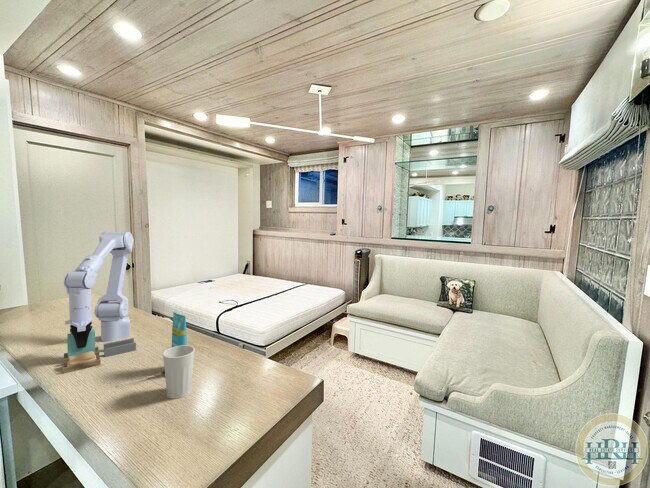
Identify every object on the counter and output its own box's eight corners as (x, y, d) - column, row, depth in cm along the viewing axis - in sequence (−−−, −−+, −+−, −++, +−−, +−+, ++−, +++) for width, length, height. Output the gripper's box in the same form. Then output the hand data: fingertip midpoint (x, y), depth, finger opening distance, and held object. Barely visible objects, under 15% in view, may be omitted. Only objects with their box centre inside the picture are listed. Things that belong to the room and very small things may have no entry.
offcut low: (95, 360, 94) (95, 354, 94) (96, 364, 92) (96, 358, 92) (67, 366, 90) (67, 361, 90) (67, 371, 87) (67, 365, 87)
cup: (187, 381, 85) (187, 342, 85) (199, 391, 80) (199, 350, 80) (158, 392, 79) (158, 351, 79) (170, 404, 74) (170, 360, 74)
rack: (98, 353, 101) (98, 345, 101) (100, 367, 92) (100, 358, 91) (64, 360, 95) (64, 352, 95) (63, 376, 86) (62, 367, 85)
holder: (133, 346, 108) (133, 337, 108) (136, 352, 103) (136, 343, 102) (103, 352, 102) (103, 343, 102) (105, 360, 97) (105, 350, 96)
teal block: (95, 354, 98) (94, 329, 98) (95, 356, 96) (94, 331, 96) (68, 360, 94) (67, 333, 93) (67, 363, 92) (67, 336, 91)
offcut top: (92, 355, 94) (92, 350, 94) (95, 358, 92) (94, 353, 92) (68, 361, 89) (68, 356, 89) (70, 364, 87) (70, 359, 87)
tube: (165, 371, 91) (165, 313, 89) (179, 365, 95) (179, 309, 94) (179, 378, 87) (179, 317, 86) (193, 371, 91) (193, 313, 90)
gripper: (65, 303, 97) (66, 341, 98) (63, 314, 86) (65, 357, 87) (91, 300, 101) (92, 336, 102) (93, 310, 91) (94, 350, 92)
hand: (81, 345), depth 95 cm, fingers closed on teal block, 3 cm apart
